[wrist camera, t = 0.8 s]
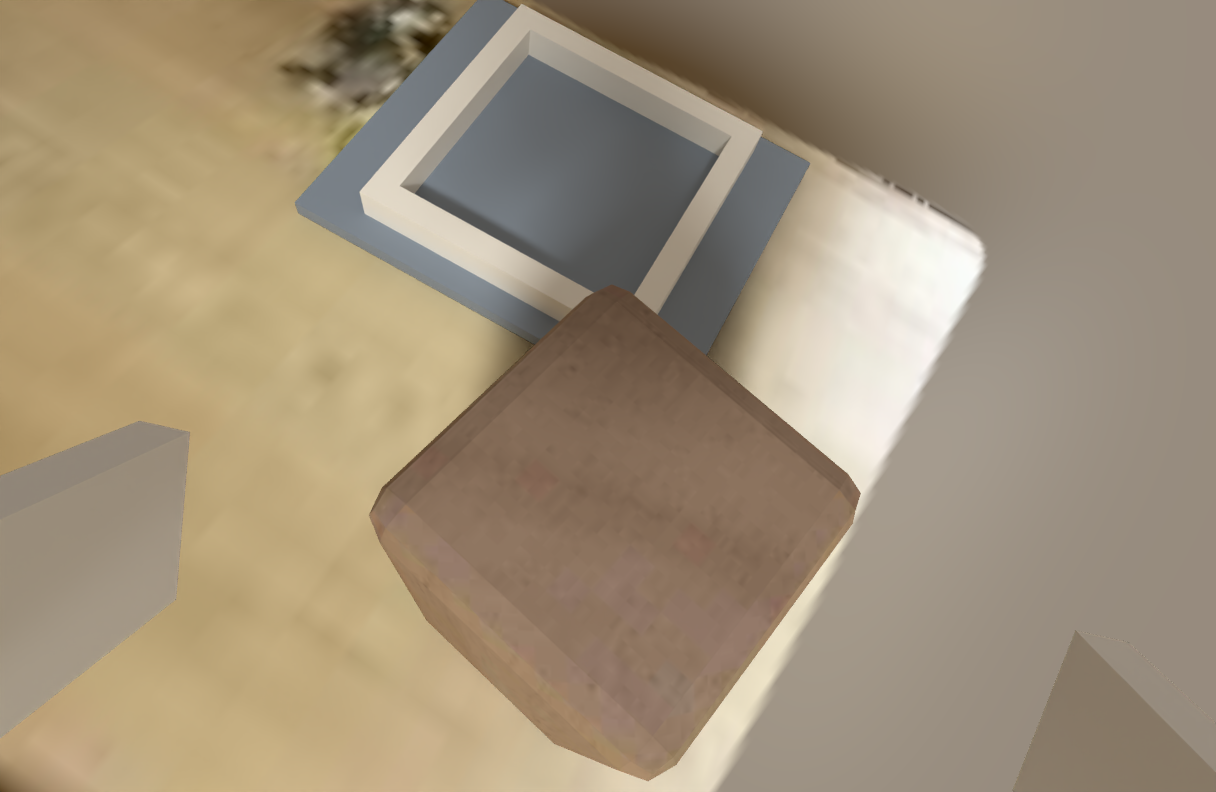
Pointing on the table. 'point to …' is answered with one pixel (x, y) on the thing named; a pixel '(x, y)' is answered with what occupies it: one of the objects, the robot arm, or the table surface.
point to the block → (613, 532)
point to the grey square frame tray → (556, 181)
